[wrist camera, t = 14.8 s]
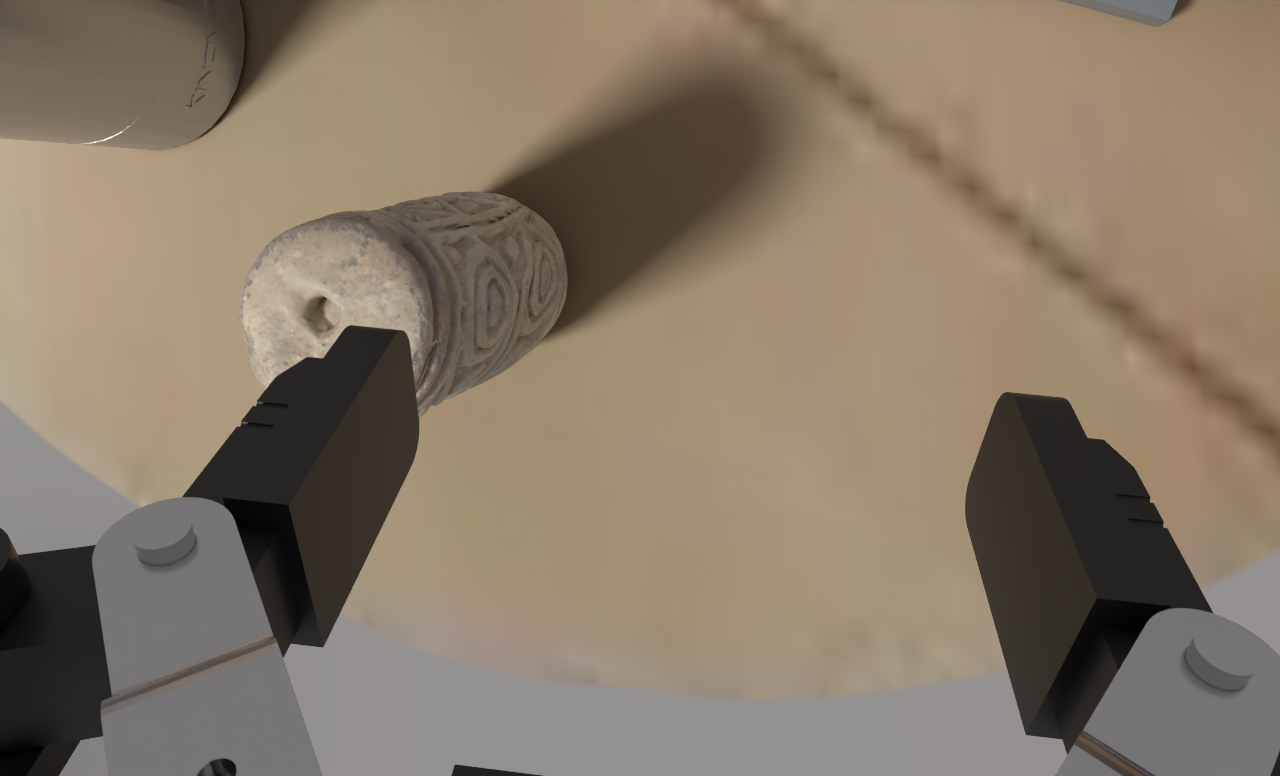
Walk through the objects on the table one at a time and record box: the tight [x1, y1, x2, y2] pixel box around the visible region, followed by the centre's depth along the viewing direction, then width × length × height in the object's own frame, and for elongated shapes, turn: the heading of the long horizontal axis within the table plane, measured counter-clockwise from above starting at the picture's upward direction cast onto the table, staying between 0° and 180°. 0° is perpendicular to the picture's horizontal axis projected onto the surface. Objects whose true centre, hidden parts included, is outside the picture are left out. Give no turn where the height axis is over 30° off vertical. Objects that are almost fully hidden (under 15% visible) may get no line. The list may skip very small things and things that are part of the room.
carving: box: [238, 192, 568, 417], centre depth 29 cm, size 6×8×12 cm
